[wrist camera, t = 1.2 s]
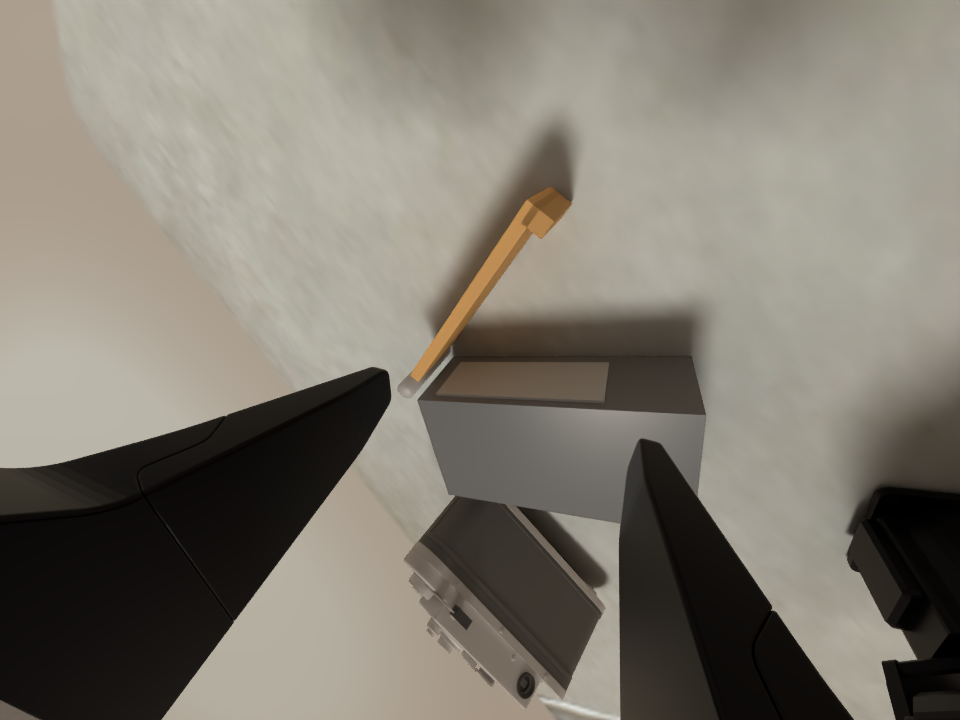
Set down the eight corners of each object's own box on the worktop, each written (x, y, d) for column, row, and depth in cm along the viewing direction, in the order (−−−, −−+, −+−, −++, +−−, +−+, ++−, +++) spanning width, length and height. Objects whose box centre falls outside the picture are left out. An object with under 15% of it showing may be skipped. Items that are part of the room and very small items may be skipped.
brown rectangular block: (460, 350, 24) (428, 389, 20) (445, 338, 24) (409, 375, 20) (572, 203, 17) (554, 221, 13) (550, 186, 17) (526, 199, 13)
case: (692, 337, 18) (708, 393, 14) (682, 464, 22) (692, 535, 18) (434, 343, 24) (395, 383, 20) (463, 442, 28) (434, 492, 24)
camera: (495, 468, 27) (391, 600, 22) (622, 612, 29) (556, 763, 24) (448, 466, 35) (364, 562, 30) (550, 579, 37) (489, 687, 32)
